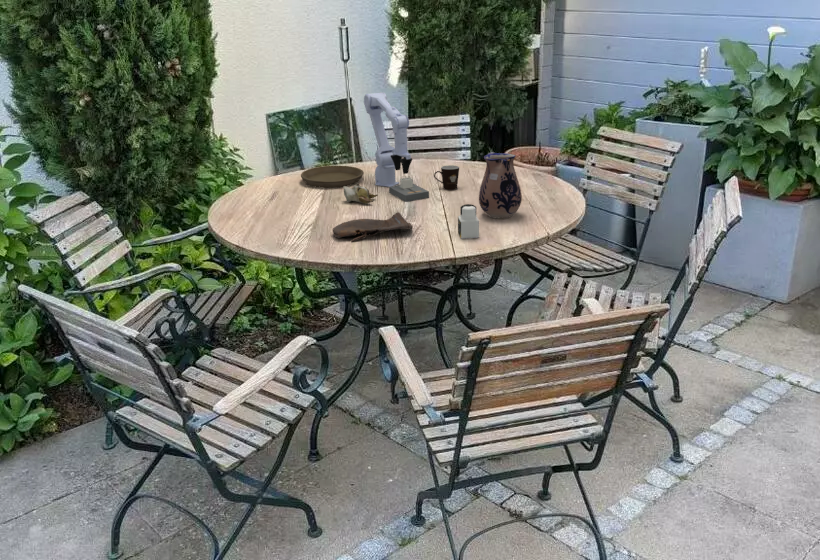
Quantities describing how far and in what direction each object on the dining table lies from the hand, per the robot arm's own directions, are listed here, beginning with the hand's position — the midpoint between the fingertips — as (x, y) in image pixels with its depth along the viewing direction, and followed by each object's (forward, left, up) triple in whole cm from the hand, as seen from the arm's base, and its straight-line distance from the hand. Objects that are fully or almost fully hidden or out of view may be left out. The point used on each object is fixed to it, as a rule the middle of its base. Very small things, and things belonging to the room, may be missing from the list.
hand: (401, 171), depth 333 cm
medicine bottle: (+56, -42, -10) cm, 70 cm away
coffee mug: (+17, +13, -10) cm, 23 cm away
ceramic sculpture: (-8, -23, -10) cm, 26 cm away
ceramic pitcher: (+55, -13, -10) cm, 57 cm away
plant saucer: (-41, +1, -10) cm, 43 cm away
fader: (+5, -3, -6) cm, 8 cm away
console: (+6, -5, -9) cm, 12 cm away
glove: (+20, -55, -10) cm, 59 cm away
